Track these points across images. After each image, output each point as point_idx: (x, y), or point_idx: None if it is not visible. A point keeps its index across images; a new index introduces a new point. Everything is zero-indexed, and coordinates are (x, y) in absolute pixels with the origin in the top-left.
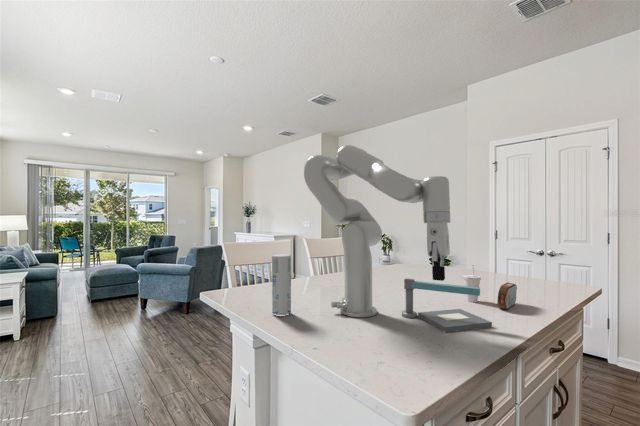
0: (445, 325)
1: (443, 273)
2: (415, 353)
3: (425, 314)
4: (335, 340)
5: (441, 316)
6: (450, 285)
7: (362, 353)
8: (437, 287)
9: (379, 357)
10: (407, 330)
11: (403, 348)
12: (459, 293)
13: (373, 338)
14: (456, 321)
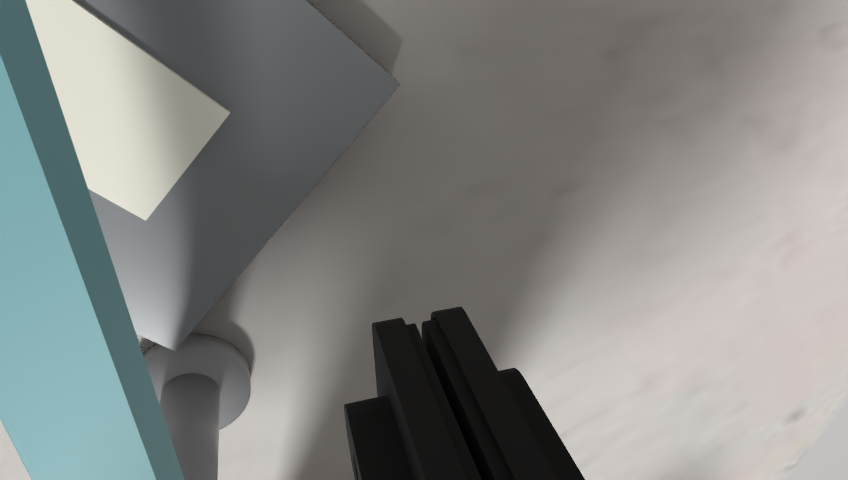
0: (361, 91)
1: (504, 383)
2: (760, 121)
3: (184, 295)
4: (717, 415)
5: (159, 180)
6: (14, 260)
7: (804, 288)
8: (133, 373)
9: (826, 224)
10: (479, 271)
11: (721, 187)
12: (49, 83)
13: (653, 334)
14: (192, 37)
